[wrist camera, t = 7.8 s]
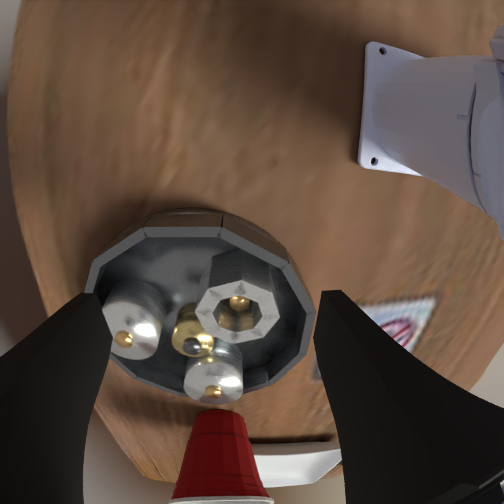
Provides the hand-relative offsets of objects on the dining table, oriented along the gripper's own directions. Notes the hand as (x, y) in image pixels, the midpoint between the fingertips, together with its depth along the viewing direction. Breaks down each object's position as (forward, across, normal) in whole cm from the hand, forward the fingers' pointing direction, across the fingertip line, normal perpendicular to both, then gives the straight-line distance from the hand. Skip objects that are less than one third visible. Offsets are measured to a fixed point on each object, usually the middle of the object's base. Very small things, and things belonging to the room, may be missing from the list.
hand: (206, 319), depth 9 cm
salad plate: (+10, -5, +42) cm, 44 cm away
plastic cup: (+10, +2, +26) cm, 28 cm away
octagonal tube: (+9, -1, +5) cm, 10 cm away
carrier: (+10, +2, +8) cm, 13 cm away
